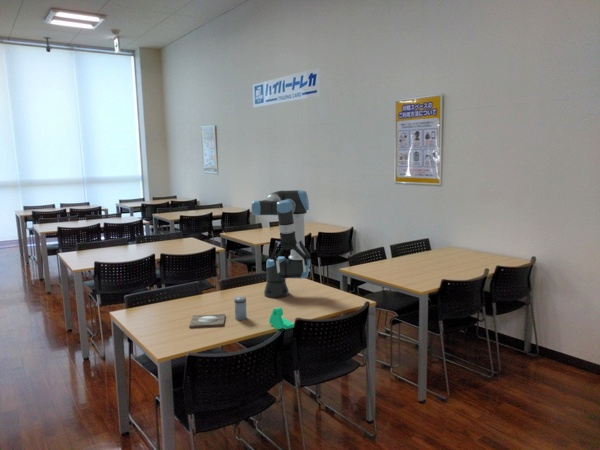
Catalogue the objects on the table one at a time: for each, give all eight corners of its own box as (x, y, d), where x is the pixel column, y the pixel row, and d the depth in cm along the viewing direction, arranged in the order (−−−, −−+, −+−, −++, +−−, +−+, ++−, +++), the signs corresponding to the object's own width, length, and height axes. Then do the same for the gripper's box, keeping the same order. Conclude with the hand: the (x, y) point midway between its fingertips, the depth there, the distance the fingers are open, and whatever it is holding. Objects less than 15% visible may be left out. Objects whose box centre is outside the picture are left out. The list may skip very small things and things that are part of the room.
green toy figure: (294, 328, 227) (294, 309, 226) (281, 332, 223) (281, 312, 222) (282, 321, 237) (281, 302, 236) (269, 325, 233) (268, 305, 231)
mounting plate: (193, 317, 245) (193, 315, 245) (225, 316, 246) (225, 313, 246) (189, 328, 230) (189, 325, 230) (223, 326, 232) (223, 323, 231)
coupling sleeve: (235, 316, 246) (234, 296, 244) (246, 316, 246) (246, 296, 245) (234, 320, 240) (234, 300, 238) (246, 320, 240) (246, 299, 239)
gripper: (261, 235, 225) (266, 275, 231) (311, 232, 220) (314, 273, 226) (264, 230, 232) (269, 269, 238) (313, 228, 227) (317, 268, 233)
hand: (291, 271), depth 232 cm, fingers open, 13 cm apart
